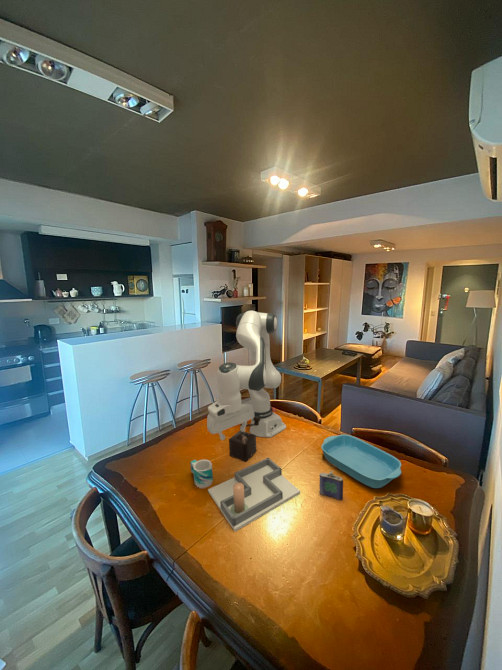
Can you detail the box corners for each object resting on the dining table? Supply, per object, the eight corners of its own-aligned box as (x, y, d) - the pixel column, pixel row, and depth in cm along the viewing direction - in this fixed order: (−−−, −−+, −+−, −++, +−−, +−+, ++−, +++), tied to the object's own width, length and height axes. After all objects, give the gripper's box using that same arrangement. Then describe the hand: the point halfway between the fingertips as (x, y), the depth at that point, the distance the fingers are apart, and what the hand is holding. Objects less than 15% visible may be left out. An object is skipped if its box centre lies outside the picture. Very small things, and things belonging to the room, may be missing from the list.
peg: (241, 503, 106) (240, 481, 104) (246, 510, 103) (245, 487, 101) (232, 508, 104) (231, 485, 102) (237, 515, 101) (236, 491, 99)
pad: (242, 500, 108) (242, 499, 108) (252, 512, 103) (252, 511, 102) (227, 508, 105) (227, 507, 105) (236, 521, 99) (236, 520, 99)
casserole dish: (312, 456, 136) (312, 443, 135) (340, 441, 149) (341, 429, 147) (382, 503, 106) (383, 487, 105) (411, 479, 119) (412, 464, 117)
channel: (267, 464, 131) (267, 456, 131) (300, 493, 112) (300, 484, 112) (208, 492, 115) (207, 483, 114) (234, 531, 96) (234, 521, 95)
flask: (318, 494, 111) (319, 471, 109) (320, 489, 114) (320, 467, 112) (342, 501, 107) (343, 477, 106) (343, 496, 110) (344, 472, 108)
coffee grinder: (247, 462, 133) (245, 429, 130) (229, 455, 139) (227, 423, 136) (263, 446, 146) (262, 415, 143) (246, 440, 152) (244, 410, 149)
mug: (201, 491, 116) (199, 473, 114) (186, 477, 124) (184, 461, 123) (216, 481, 121) (215, 464, 120) (201, 469, 130) (199, 453, 128)
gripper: (248, 393, 116) (249, 423, 119) (203, 408, 105) (207, 440, 108) (256, 398, 111) (258, 429, 114) (210, 415, 100) (214, 448, 103)
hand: (232, 434), depth 111 cm, fingers open, 8 cm apart
